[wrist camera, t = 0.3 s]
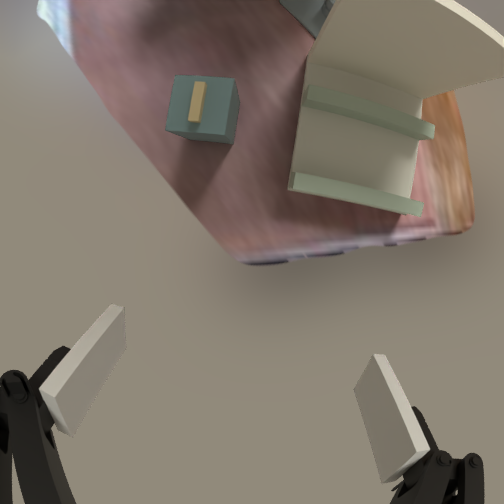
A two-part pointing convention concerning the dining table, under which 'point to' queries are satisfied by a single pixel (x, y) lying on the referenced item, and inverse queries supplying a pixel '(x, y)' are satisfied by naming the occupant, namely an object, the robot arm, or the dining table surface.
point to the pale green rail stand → (382, 94)
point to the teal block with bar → (204, 108)
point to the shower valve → (309, 12)
